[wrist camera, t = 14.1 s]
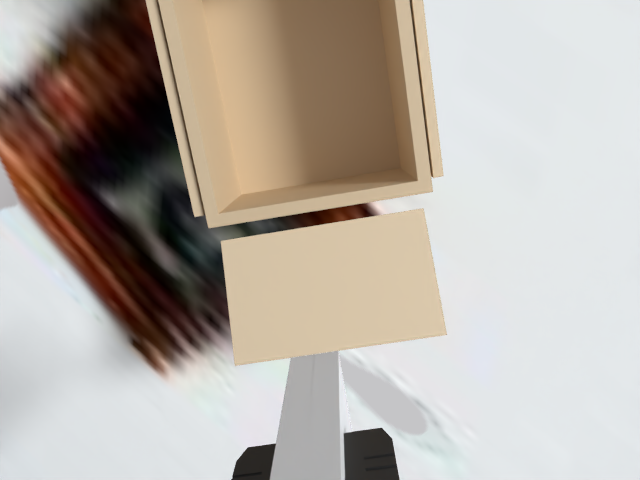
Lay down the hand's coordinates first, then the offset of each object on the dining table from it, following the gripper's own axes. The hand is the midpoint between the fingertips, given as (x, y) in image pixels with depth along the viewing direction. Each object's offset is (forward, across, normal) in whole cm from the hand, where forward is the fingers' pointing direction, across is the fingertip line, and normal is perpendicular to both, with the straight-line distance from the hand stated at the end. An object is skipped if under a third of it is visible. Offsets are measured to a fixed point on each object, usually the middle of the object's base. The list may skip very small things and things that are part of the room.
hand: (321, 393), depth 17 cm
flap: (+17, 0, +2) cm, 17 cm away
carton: (+26, 0, +12) cm, 29 cm away
